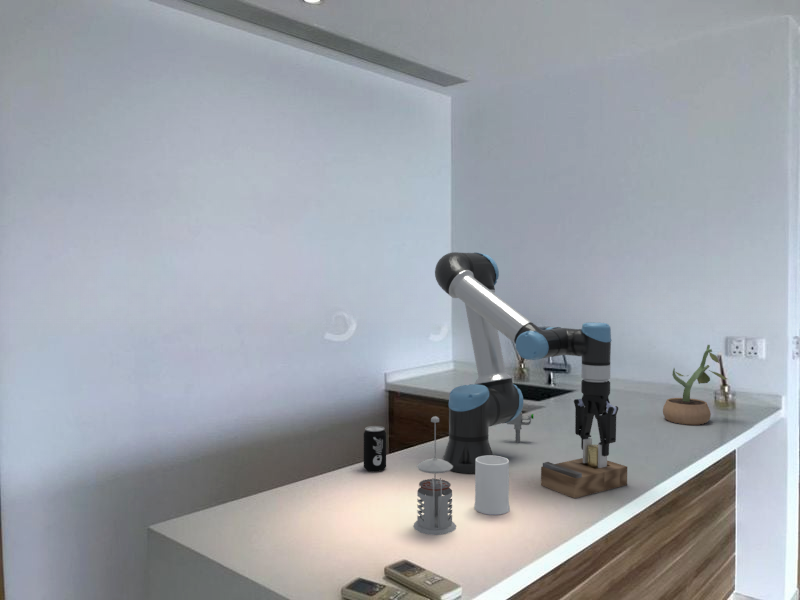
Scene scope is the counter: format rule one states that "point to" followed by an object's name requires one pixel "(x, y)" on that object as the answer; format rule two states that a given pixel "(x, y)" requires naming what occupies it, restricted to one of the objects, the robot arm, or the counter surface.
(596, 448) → the brass cylinder
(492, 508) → the mug
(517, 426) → the mechanical component
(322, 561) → the counter surface
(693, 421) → the potted plant
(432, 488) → the french press
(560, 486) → the jig
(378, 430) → the beverage can
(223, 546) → the counter surface
